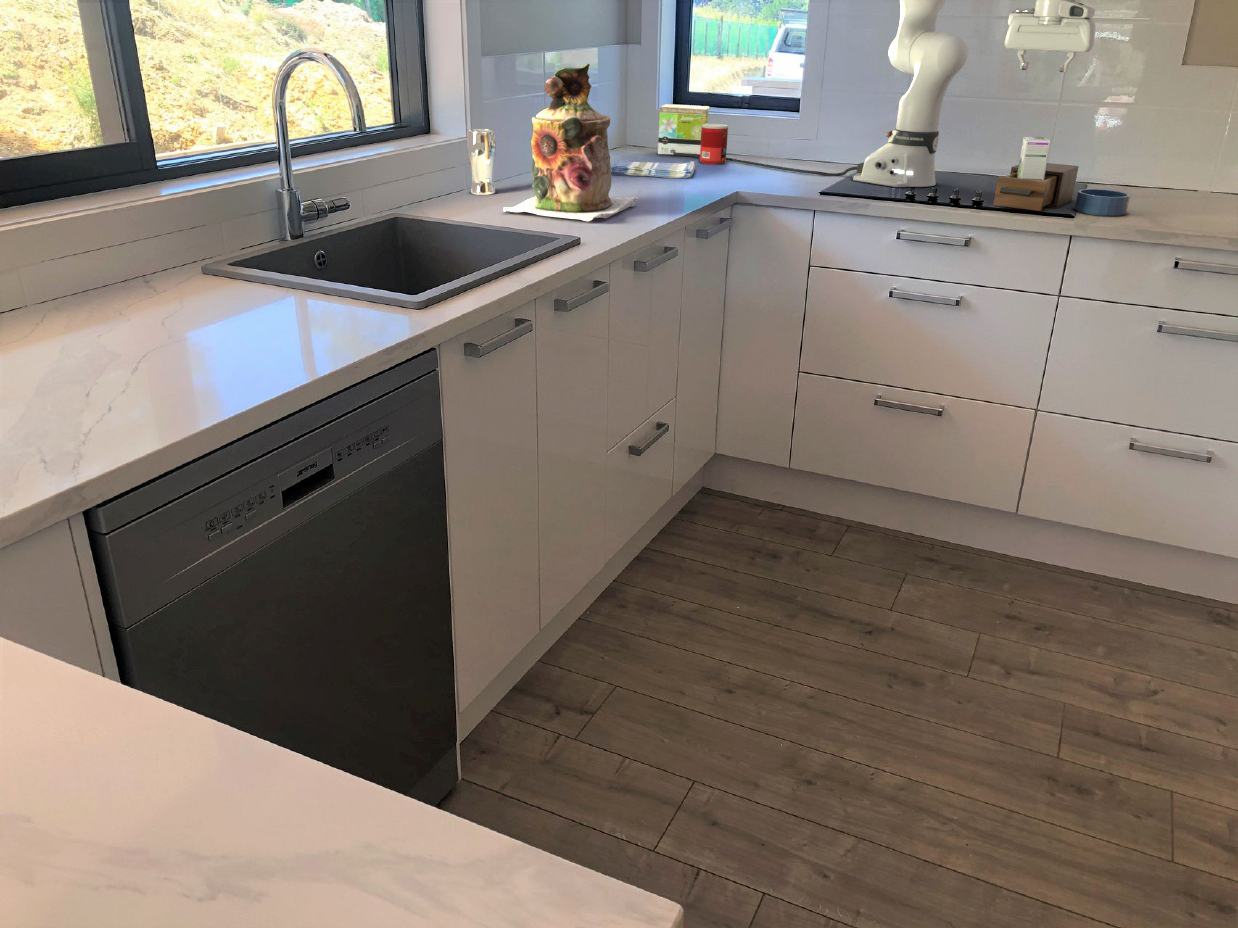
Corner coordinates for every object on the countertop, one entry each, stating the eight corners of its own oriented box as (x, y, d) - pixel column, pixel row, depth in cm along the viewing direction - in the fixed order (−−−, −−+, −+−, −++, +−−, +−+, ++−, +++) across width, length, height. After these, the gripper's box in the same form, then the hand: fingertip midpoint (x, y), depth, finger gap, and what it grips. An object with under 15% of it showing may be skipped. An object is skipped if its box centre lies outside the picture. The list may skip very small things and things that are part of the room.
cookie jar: (547, 197, 250) (546, 58, 236) (640, 206, 241) (644, 63, 228) (499, 214, 229) (495, 63, 216) (598, 225, 221) (600, 68, 207)
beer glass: (485, 189, 258) (483, 128, 252) (502, 193, 254) (501, 131, 248) (463, 192, 254) (461, 130, 248) (480, 196, 249) (478, 133, 243)
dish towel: (692, 179, 280) (692, 169, 278) (608, 175, 283) (608, 165, 282) (697, 170, 295) (697, 160, 294) (618, 166, 298) (618, 156, 297)
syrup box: (1040, 201, 247) (1052, 140, 241) (1015, 200, 248) (1026, 138, 242) (1037, 197, 252) (1048, 137, 246) (1012, 196, 253) (1023, 136, 247)
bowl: (1069, 212, 246) (1072, 193, 244) (1081, 205, 254) (1084, 187, 253) (1119, 218, 240) (1124, 199, 238) (1130, 211, 248) (1134, 193, 246)
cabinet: (1056, 208, 251) (1063, 172, 247) (1005, 201, 257) (1011, 167, 254) (1071, 200, 261) (1078, 166, 258) (1022, 194, 268) (1028, 161, 264)
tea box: (657, 155, 321) (658, 106, 315) (661, 151, 330) (662, 103, 324) (704, 157, 319) (706, 108, 313) (706, 153, 328) (709, 105, 322)
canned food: (726, 164, 306) (729, 126, 301) (700, 164, 306) (702, 126, 301) (724, 161, 313) (727, 124, 308) (699, 160, 313) (700, 123, 308)
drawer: (1035, 213, 238) (1041, 184, 236) (987, 207, 244) (992, 178, 242) (1056, 203, 251) (1061, 175, 249) (1009, 197, 257) (1014, 170, 255)
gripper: (1006, 8, 243) (996, 69, 249) (1095, 10, 233) (1083, 74, 238) (1014, 8, 248) (1004, 68, 254) (1102, 10, 237) (1089, 72, 243)
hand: (1043, 71), depth 246 cm, fingers open, 8 cm apart
